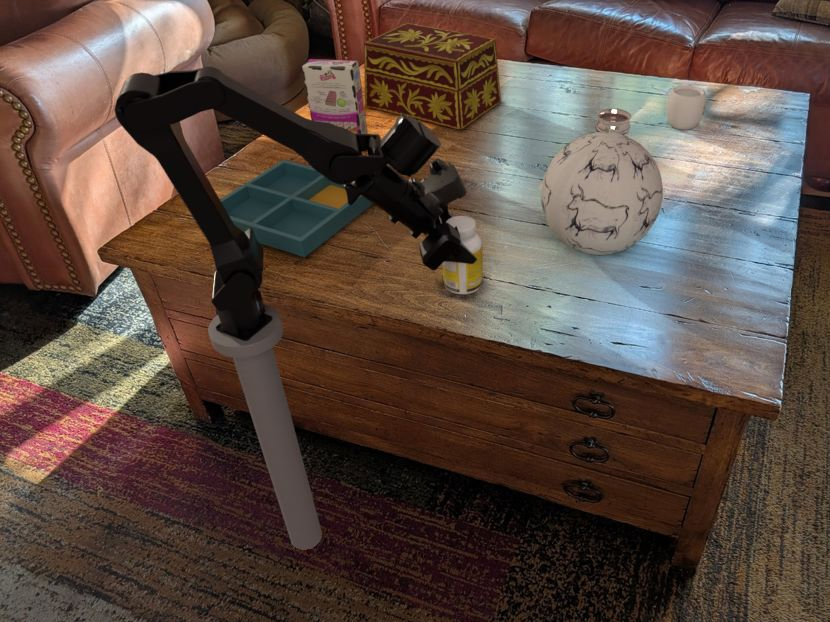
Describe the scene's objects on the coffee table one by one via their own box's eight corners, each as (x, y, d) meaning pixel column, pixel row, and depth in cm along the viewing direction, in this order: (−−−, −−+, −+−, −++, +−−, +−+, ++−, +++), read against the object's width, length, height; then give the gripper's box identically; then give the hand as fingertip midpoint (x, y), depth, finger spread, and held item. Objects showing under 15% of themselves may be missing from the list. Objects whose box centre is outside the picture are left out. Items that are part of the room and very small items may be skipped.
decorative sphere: (677, 254, 125) (699, 144, 112) (587, 292, 117) (599, 178, 104) (602, 206, 138) (614, 102, 125) (516, 237, 130) (519, 130, 117)
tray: (304, 257, 126) (301, 241, 124) (206, 226, 134) (201, 210, 132) (379, 199, 141) (377, 183, 139) (286, 174, 149) (283, 159, 147)
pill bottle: (488, 277, 121) (487, 216, 113) (475, 299, 116) (473, 237, 109) (451, 270, 122) (448, 209, 115) (437, 292, 118) (433, 230, 110)
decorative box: (364, 107, 175) (356, 42, 165) (409, 82, 187) (404, 20, 177) (460, 131, 164) (458, 63, 154) (501, 102, 176) (502, 38, 166)
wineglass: (631, 174, 147) (639, 117, 139) (604, 183, 145) (611, 125, 137) (610, 162, 152) (616, 105, 144) (584, 170, 149) (589, 113, 141)
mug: (695, 136, 161) (702, 101, 155) (658, 128, 164) (663, 94, 159) (710, 116, 168) (717, 82, 163) (674, 109, 172) (680, 76, 166)
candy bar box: (368, 134, 164) (359, 59, 153) (362, 143, 160) (352, 68, 149) (321, 131, 165) (308, 57, 154) (313, 140, 161) (300, 65, 151)
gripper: (442, 185, 96) (520, 245, 105) (421, 127, 110) (492, 185, 119) (389, 243, 100) (469, 296, 109) (375, 181, 114) (447, 233, 123)
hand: (470, 249), depth 115 cm, fingers closed on pill bottle, 6 cm apart
